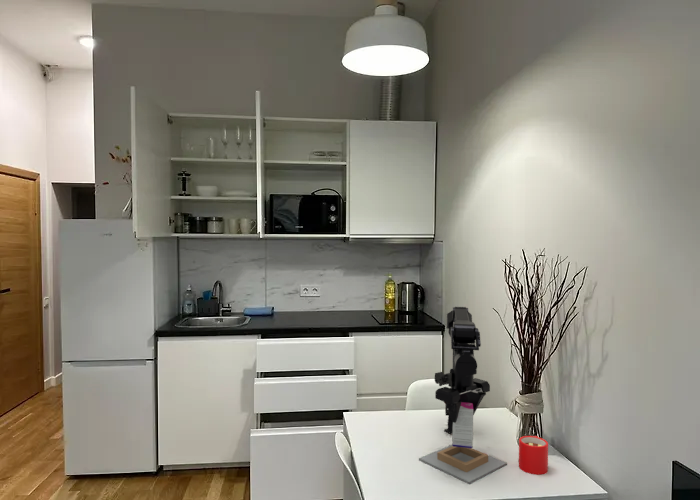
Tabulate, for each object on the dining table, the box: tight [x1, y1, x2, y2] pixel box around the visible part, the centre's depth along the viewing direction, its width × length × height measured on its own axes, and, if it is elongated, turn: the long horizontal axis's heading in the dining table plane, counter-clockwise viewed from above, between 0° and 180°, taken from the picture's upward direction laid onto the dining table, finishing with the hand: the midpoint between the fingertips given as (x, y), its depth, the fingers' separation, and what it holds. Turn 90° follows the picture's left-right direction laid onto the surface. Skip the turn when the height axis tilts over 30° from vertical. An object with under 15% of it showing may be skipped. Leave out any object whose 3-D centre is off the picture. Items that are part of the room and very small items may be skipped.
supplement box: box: [451, 402, 474, 449], centre depth 143 cm, size 6×6×12 cm
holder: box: [418, 444, 508, 485], centre depth 143 cm, size 18×18×3 cm
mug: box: [518, 435, 549, 476], centre depth 142 cm, size 8×12×8 cm, turn 154°
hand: (462, 419), depth 143 cm, fingers closed on supplement box, 8 cm apart
